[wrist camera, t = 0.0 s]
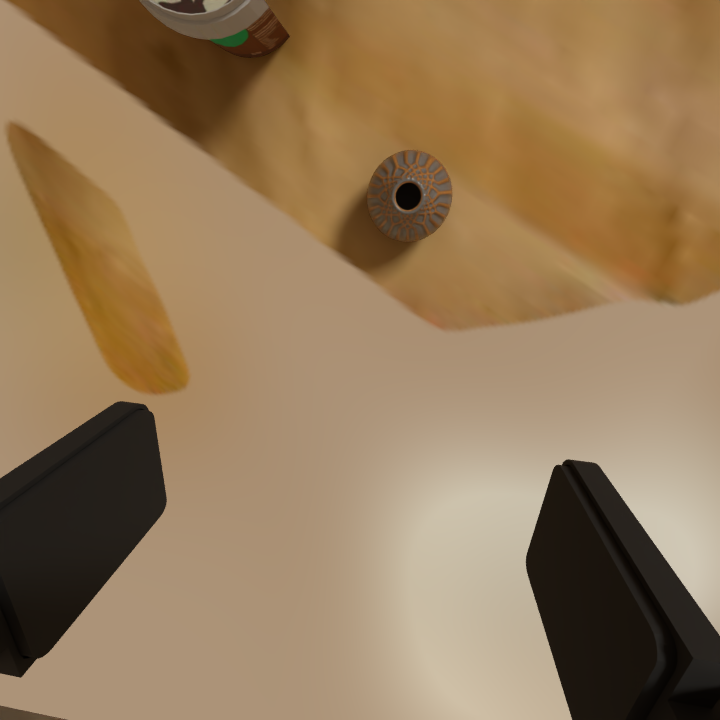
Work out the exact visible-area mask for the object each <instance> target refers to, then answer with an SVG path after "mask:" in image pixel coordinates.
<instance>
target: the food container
mask: <svg viewBox="0 0 720 720" xmlns="http://www.w3.org/2000/svg"><path fill="white" fill-rule="evenodd" d="M139 1H140V2H141V3H142V4H143V6H144V7H145V8H146V9H147V10H148V11H149V12H150V13H151V14H152V15H153V16H154V17H155V18H157V19H158V20H159V21H161V22H162V23H163V24H164V25H166V26H167V27H169V28H171V29H173V30H175V31H176V32H178V33H180V34H183V35H186V36H189V37H193V38H198V39H207V40H210V41H212V42H213V43H215V44H216V45H218V46H220V47H221V48H223V49H225V50H226V51H228V52H230V53H232V54H234V55H238V56H241V57H249V58H251V57H260V56H263V55H266V54H268V53H270V52H272V51H274V50H276V49H277V48H278V47H280V46H281V45H282V44H283V43H284V42H285V41H286V40H287V39H288V38H289V37H290V36H289V34H288V33H287V32H286V30H285V29H284V27H283V26H282V25H281V23H280V22H279V21H278V19H277V18H276V16H275V15H274V14H273V12H272V11H271V9H270V8H269V6H268V5H267V3H266V2H265V1H264V0H139Z"/></svg>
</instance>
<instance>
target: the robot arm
mask: <svg viewBox="0 0 720 720" xmlns="http://www.w3.org/2000/svg"><path fill="white" fill-rule="evenodd" d="M166 500H167V499H166V492H165V485H164V478H163V472H162V465H161V459H160V452H159V445H158V439H157V433H156V426H155V420H154V415H153V413H152V412H150V411H149V410H148V408H147V407H146V405H144V404H138V403H130V402H123V401H122V402H121V401H120V402H117V403H114V404H113V405H111V406H110V407H108V408H107V409H105V410H104V411H102V412H101V413H99V414H98V415H96V416H95V417H93V418H91V419H90V420H88V421H87V422H85V423H84V424H82V425H81V426H79V427H78V428H76V429H75V430H73V431H72V432H70V433H69V434H67V435H66V436H64V437H63V438H61V439H59V440H58V441H57V442H55V443H53V444H52V445H51V446H49V447H47V448H46V449H44V450H43V451H41V452H40V453H38V454H37V455H35V456H34V457H32V458H31V459H29V460H27V461H26V462H24V463H23V464H21V465H20V466H18V467H17V468H15V469H14V470H12V471H11V472H9V473H8V474H6V475H5V476H3V477H2V478H0V673H2V674H6V675H11V676H16V677H22V676H23V675H24V673H25V672H26V671H27V670H28V668H29V667H30V666H31V665H32V664H33V663H34V661H35V660H36V659H37V658H41V657H43V656H44V655H46V654H47V653H48V652H49V651H50V650H51V649H52V648H53V647H54V645H55V644H56V643H57V642H58V641H59V639H60V638H61V637H62V636H63V634H64V633H65V632H66V631H67V630H68V628H69V627H70V626H71V625H72V623H73V622H74V621H75V620H76V619H77V617H78V616H79V615H80V614H81V613H82V611H83V610H84V609H85V608H86V606H87V605H88V604H89V603H90V602H91V600H92V599H93V598H94V597H95V595H96V594H97V593H98V592H99V591H100V589H101V588H102V587H103V586H104V584H105V583H106V582H107V581H108V580H109V578H110V577H111V576H112V575H113V573H114V572H115V571H116V570H117V569H118V567H119V566H120V565H121V564H122V563H123V561H124V560H125V559H126V558H127V556H128V555H129V554H130V553H131V552H132V550H133V549H134V548H135V547H136V545H137V544H138V543H139V542H140V541H141V539H142V538H143V537H144V536H145V534H146V533H147V532H148V531H149V530H150V528H151V527H152V526H153V525H154V524H155V522H156V521H157V520H158V518H159V517H160V516H161V515H162V513H163V511H164V509H165V506H166V502H167V501H166ZM526 569H527V573H528V577H529V580H530V584H531V587H532V590H533V593H534V597H535V600H536V603H537V606H538V610H539V613H540V616H541V619H542V623H543V626H544V629H545V632H546V636H547V639H548V642H549V645H550V649H551V652H552V655H553V658H554V661H555V665H556V668H557V671H558V675H559V678H560V681H561V684H562V688H563V691H564V694H565V697H566V701H567V704H568V707H569V711H570V714H571V717H572V720H720V636H719V634H718V633H717V631H716V630H715V629H714V627H713V626H712V624H711V623H710V622H709V620H708V619H707V617H706V616H705V614H704V613H703V612H702V610H701V609H700V608H699V606H698V605H697V603H696V602H695V600H694V599H693V598H692V596H691V595H690V593H689V592H688V591H687V589H686V588H685V586H684V585H683V584H682V582H681V581H680V579H679V578H678V577H677V575H676V574H675V572H674V571H673V569H672V568H671V567H670V565H669V564H668V562H667V561H666V560H665V558H664V557H663V555H662V554H661V552H660V551H659V550H658V548H657V547H656V545H655V544H654V543H653V541H652V540H651V539H650V537H649V536H648V534H647V533H646V531H645V530H644V529H643V527H642V526H641V524H640V523H639V521H638V520H637V519H636V517H635V516H634V514H633V513H632V512H631V511H630V509H629V508H628V506H627V505H626V503H625V502H624V500H623V499H622V498H621V496H620V495H619V493H618V492H617V491H616V489H615V488H614V486H613V485H612V483H611V482H610V481H609V479H608V478H607V476H606V475H605V474H604V472H603V471H602V469H601V468H600V467H599V466H598V465H597V464H596V463H592V462H584V461H576V460H565V461H564V462H563V464H562V465H556V466H555V467H554V469H553V472H552V475H551V479H550V482H549V485H548V488H547V491H546V494H545V497H544V501H543V504H542V507H541V510H540V514H539V517H538V520H537V523H536V526H535V530H534V533H533V536H532V539H531V543H530V546H529V549H528V552H527V556H526ZM0 720H65V719H61V718H56V717H51V716H47V715H42V714H37V713H32V712H28V711H23V710H18V709H13V708H8V707H4V706H0Z"/></svg>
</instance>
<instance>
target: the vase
mask: <svg viewBox="0 0 720 720" xmlns="http://www.w3.org/2000/svg"><path fill="white" fill-rule="evenodd" d="M451 202H452V185H451V181H450V178H449V175H448V173H447V171H446V169H445V168H444V166H443V165H442V164H441V163H440V162H439V161H438V160H437V159H436V158H435V157H433V156H431V155H430V154H427V153H425V152H422V151H417V150H407V151H401V152H398V153H396V154H394V155H392V156H390V157H388V158H387V159H386V160H384V161H383V162H382V163H381V164H380V165H379V166H378V168H377V169H376V171H375V172H374V174H373V176H372V178H371V180H370V183H369V187H368V192H367V204H368V210H369V213H370V216H371V218H372V220H373V222H374V224H375V225H376V226H377V228H378V229H379V230H380V231H381V232H382V233H384V234H385V235H387V236H388V237H390V238H392V239H395V240H398V241H403V242H412V241H417V240H421V239H423V238H426V237H428V236H429V235H431V234H432V233H434V232H435V231H436V230H437V229H438V228H439V227H440V226H441V225H442V223H443V222H444V220H445V219H446V217H447V215H448V213H449V210H450V207H451Z"/></svg>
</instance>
